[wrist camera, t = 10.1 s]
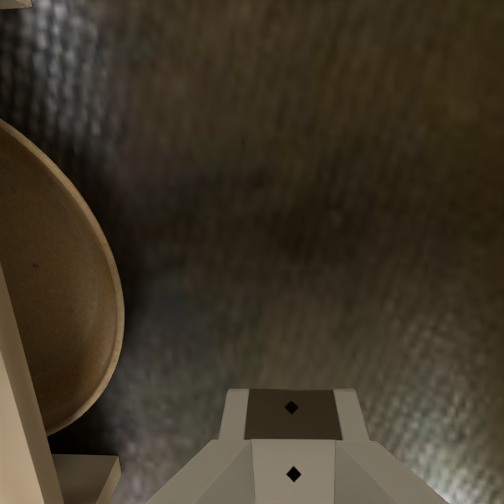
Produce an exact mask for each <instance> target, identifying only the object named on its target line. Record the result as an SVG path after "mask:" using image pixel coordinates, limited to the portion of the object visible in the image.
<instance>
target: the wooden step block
mask: <svg viewBox="0 0 504 504" xmlns="http://www.w3.org/2000/svg"><path fill="white" fill-rule="evenodd" d="M31 7H32V3H31V0H0V9H13V8H31ZM121 474H122V473H121V467H120V462H119V457H118V456H107V455H73V454H51V452H50V448H49V444H48V440H47V437H46V433H45V429H44V425H43V421H42V418H41V414H40V410H39V406H38V403H37V399H36V395H35V391H34V387H33V384H32V380H31V376H30V372H29V369H28V365H27V361H26V357H25V353H24V350H23V346H22V342H21V338H20V335H19V331H18V327H17V323H16V319H15V316H14V312H13V308H12V304H11V300H10V297H9V293H8V289H7V285H6V282H5V278H4V274H3V270H2V266H1V263H0V504H109V502H110V500H111V497H112V495H113V493H114V490H115V488H116V486H117V484H118V481H119V479H120V477H121Z"/></svg>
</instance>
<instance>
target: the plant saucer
mask: <svg viewBox="0 0 504 504" xmlns="http://www.w3.org/2000/svg"><path fill="white" fill-rule="evenodd" d="M0 263H1V266H2V270H3V274H4V278H5V282H6V285H7V289H8V293H9V297H10V300H11V304H12V308H13V312H14V316H15V319H16V323H17V327H18V331H19V335H20V338H21V342H22V346H23V350H24V353H25V357H26V361H27V365H28V369H29V372H30V376H31V380H32V384H33V387H34V391H35V395H36V399H37V403H38V406H39V410H40V414H41V418H42V421H43V425H44V429H45V433H46V437H47V436H49V435H51V434H53V433H55V432H57V431H59V430H61V429H62V428H64V427H66V426H68V425H69V424H71V423H72V422H74V421H75V420H76V419H78V418H79V417H80V416H82V415H83V414H84V413H85V412H86V411H87V410H88V409H89V408H90V407H91V406H92V405H93V404H94V402H95V401H96V400H97V399H98V398H99V396H100V395H101V394H102V392H103V391H104V389H105V388H106V387H107V385H108V383H109V381H110V379H111V376H112V374H113V372H114V370H115V368H116V365H117V362H118V359H119V355H120V352H121V348H122V340H123V332H124V301H123V293H122V287H121V282H120V278H119V274H118V270H117V266H116V263H115V260H114V257H113V254H112V251H111V249H110V246H109V244H108V242H107V240H106V237H105V235H104V233H103V231H102V229H101V227H100V225H99V223H98V222H97V220H96V218H95V216H94V215H93V213H92V211H91V209H90V208H89V206H88V205H87V203H86V202H85V200H84V199H83V197H82V196H81V195H80V193H79V192H78V190H77V189H76V188H75V186H74V185H73V184H72V182H71V181H70V180H69V179H68V178H67V177H66V175H65V174H64V173H63V172H62V171H61V170H60V169H59V168H58V166H57V165H56V164H55V163H54V162H53V161H52V160H51V159H50V158H49V157H48V156H47V155H46V154H44V153H43V152H42V151H41V150H40V149H39V148H38V147H37V146H36V145H35V144H33V143H32V142H31V141H30V140H29V139H27V138H26V137H25V136H24V135H23V134H21V133H20V132H19V131H17V130H16V129H15V128H13V127H12V126H11V125H9V124H8V123H6V122H5V121H3V120H2V119H0Z"/></svg>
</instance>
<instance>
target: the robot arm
mask: <svg viewBox="0 0 504 504" xmlns="http://www.w3.org/2000/svg"><path fill="white" fill-rule="evenodd" d="M145 504H449V503H448V502H446V501H445V500H444V499H443V498H442V497H441V496H439V495H438V494H437V493H436V492H435V491H434V490H433V489H431V488H430V487H429V486H428V485H427V484H426V483H424V482H423V481H422V480H421V479H420V478H419V477H418V476H416V475H415V474H414V473H413V472H412V471H411V470H409V469H408V468H407V467H406V466H405V465H404V464H403V463H401V462H400V461H399V460H398V459H397V458H396V457H394V456H393V455H392V454H391V453H390V452H389V451H388V450H386V449H385V448H384V447H383V446H382V445H381V444H379V443H378V442H377V441H370V439H369V436H368V432H367V429H366V425H365V422H364V418H363V415H362V411H361V408H360V404H359V401H358V397H357V394H356V391H355V390H354V389H353V388H352V389H332V390H280V389H250V390H249V389H229V390H228V392H227V396H226V401H225V407H224V412H223V417H222V423H221V428H220V433H219V439H218V440H211V441H210V442H209V443H208V444H207V445H206V446H205V447H204V448H203V449H202V450H201V451H200V452H199V453H197V454H196V455H195V456H194V457H193V458H192V459H191V460H190V461H189V462H188V463H187V464H186V465H185V466H184V467H183V468H182V469H181V470H180V471H179V472H177V473H176V474H175V475H174V476H173V477H172V478H171V479H170V480H169V481H168V482H167V483H166V484H165V485H164V486H163V487H162V488H161V489H160V490H159V491H158V492H156V493H155V494H154V495H153V496H152V497H151V498H150V499H149V500H148V501H147V502H146V503H145Z"/></svg>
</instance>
